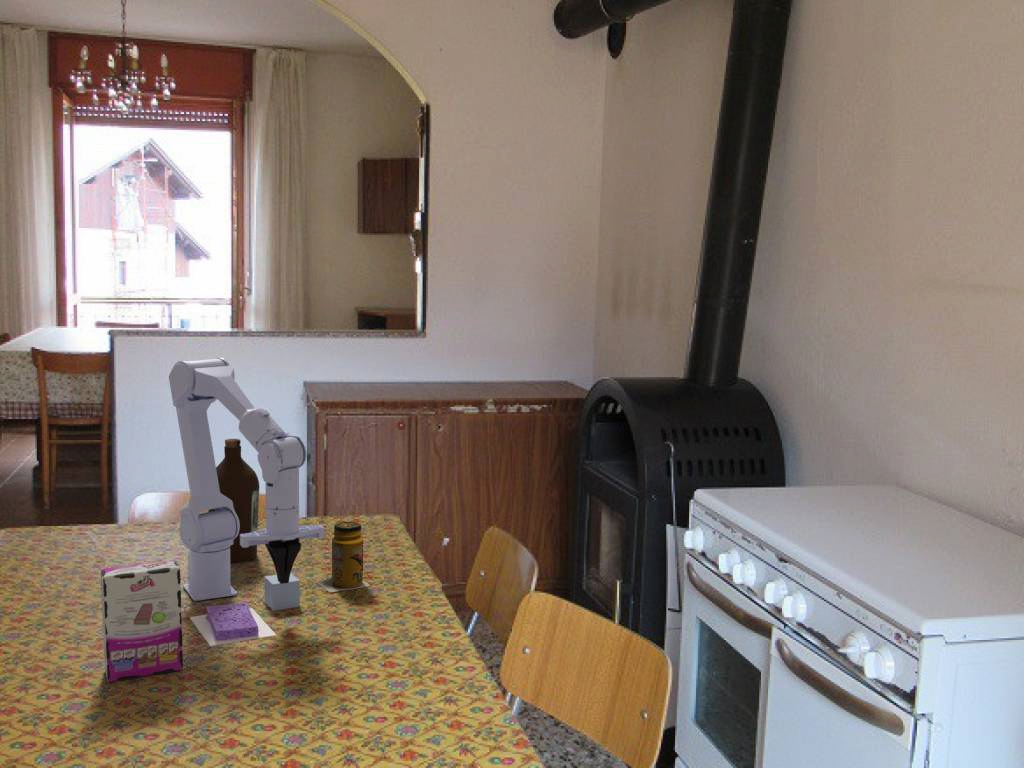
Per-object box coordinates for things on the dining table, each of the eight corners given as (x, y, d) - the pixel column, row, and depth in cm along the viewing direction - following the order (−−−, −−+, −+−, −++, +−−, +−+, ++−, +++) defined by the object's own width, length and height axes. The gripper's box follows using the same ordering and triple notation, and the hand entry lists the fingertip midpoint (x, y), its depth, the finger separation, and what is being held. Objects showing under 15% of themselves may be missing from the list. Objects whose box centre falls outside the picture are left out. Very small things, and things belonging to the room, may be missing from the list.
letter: (189, 617, 182) (189, 617, 182) (251, 608, 188) (251, 607, 188) (210, 646, 169) (210, 645, 169) (276, 635, 175) (276, 634, 175)
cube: (264, 602, 191) (264, 576, 190) (291, 598, 193) (290, 572, 193) (272, 611, 187) (272, 584, 186) (299, 607, 189) (299, 580, 188)
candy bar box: (178, 659, 164) (176, 558, 162) (184, 670, 159) (182, 567, 157) (102, 671, 159) (99, 567, 157) (106, 683, 154) (103, 576, 152)
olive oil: (206, 565, 212) (204, 445, 209) (209, 550, 222) (207, 435, 219) (259, 563, 214) (258, 444, 211) (260, 548, 225) (259, 435, 222)
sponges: (246, 611, 186) (246, 601, 185) (259, 635, 174) (258, 625, 174) (206, 616, 183) (206, 606, 183) (216, 641, 171) (215, 630, 171)
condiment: (370, 586, 201) (371, 526, 200) (330, 593, 197) (330, 532, 195) (354, 576, 207) (355, 517, 206) (315, 582, 203) (315, 523, 201)
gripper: (247, 515, 173) (248, 594, 175) (330, 506, 181) (330, 582, 182) (236, 506, 180) (237, 582, 181) (316, 498, 187) (317, 571, 188)
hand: (283, 581), depth 182 cm, fingers closed
